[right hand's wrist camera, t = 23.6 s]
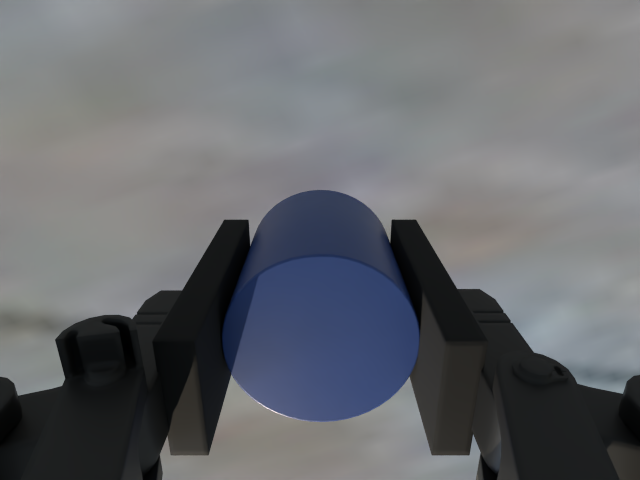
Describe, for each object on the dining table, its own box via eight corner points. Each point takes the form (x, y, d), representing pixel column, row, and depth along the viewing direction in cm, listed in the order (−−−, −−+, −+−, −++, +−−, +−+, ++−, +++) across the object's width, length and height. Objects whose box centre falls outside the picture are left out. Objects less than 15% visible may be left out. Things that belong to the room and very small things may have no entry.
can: (277, 328, 16) (259, 439, 11) (232, 212, 14) (189, 286, 10) (402, 296, 15) (438, 399, 11) (370, 172, 14) (396, 230, 9)
